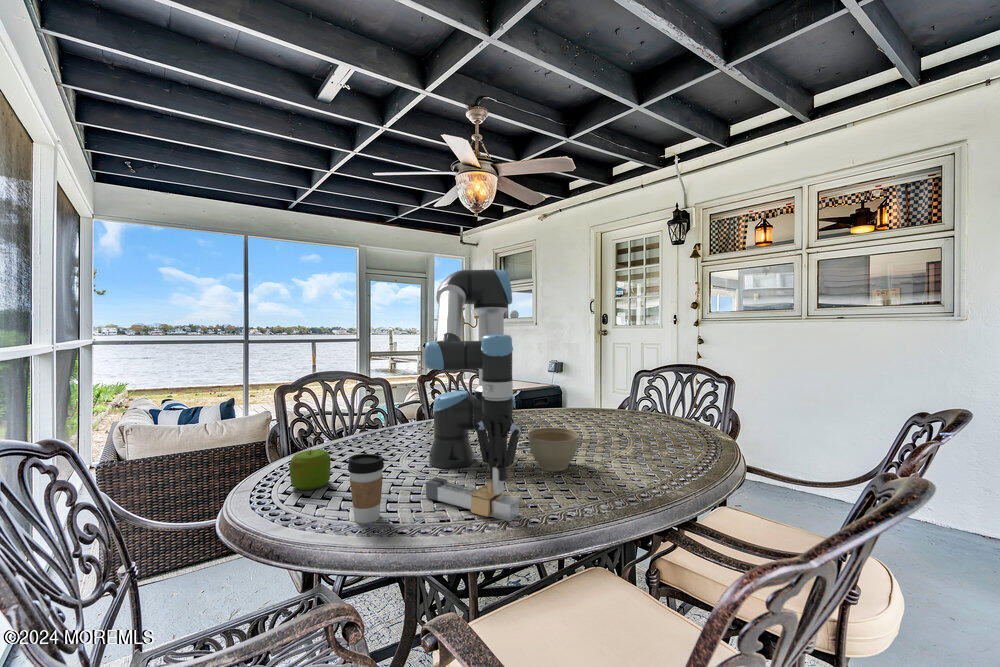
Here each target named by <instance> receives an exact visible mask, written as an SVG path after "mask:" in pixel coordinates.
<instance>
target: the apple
mask: <svg viewBox="0 0 1000 667" xmlns="http://www.w3.org/2000/svg"><path fill="white" fill-rule="evenodd" d="M331 460H332V459H331V455H330V453H329V452H328V451H326V449H320V448H317V449H308V450H304V451H301V452H297V453H296V454H294V455H293V456H292V457H291V459H290V462H289V466H288V469H289V477H290V485H291V486H293V487H294V488H296V489H298V490H301V491H313V490H314V491H315V490H317V489H320V488H322V487H324V486H325V485H326V484H327V483H328V482H329V481H331V480H330V479H331V464H332V462H331Z"/></svg>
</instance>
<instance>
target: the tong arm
mask: <svg viewBox="0 0 1000 667" xmlns="http://www.w3.org/2000/svg"><path fill="white" fill-rule="evenodd" d="M431 480H433V481H437V482H441V483H442V485H444V486H449V487H453V488H457V489H461V490H465V491H469V492H474V491H476V490H477V489H478V488H473V487H472V486H466V485H461V484H457V483H453V482H449V481H448V479H445V478H440V477H437V476H436V477H434V478H431Z"/></svg>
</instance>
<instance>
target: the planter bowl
mask: <svg viewBox="0 0 1000 667" xmlns="http://www.w3.org/2000/svg"><path fill="white" fill-rule="evenodd" d="M527 437H528V442H529V443H528V444H529V448H530V452H531V454H532V456H533V458H534V460H535V461H536V463H537V466H538V468H539V469H541V470H543V471H547V472H562V471H565V470H567V469H568V468H569V464H570V463H571V461H572V460H573V458H574V457H575V455H576V452H577V449H578V443H579V442H578V440H579V434H578V432H576V431H575V430H571V429H568V428H562V427H539V428H536V429H531V430H530V431H528V435H527Z"/></svg>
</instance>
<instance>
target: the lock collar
mask: <svg viewBox="0 0 1000 667" xmlns="http://www.w3.org/2000/svg"><path fill="white" fill-rule="evenodd" d="M476 489H477V490H476V491H474V492H472V493H471V509H470V511H471V513H472V514H476V515H479V516H483V517H487V518H489V517H491V516H490V499H491V498H493V497H494V496H496V495H495V494H493V479H491V480H489V481H488V482H487V483H486V484H484V485H482V486H481V487H479V488H476ZM503 492H504V491H503ZM503 492H502V493H500V495H504V494H503Z"/></svg>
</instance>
